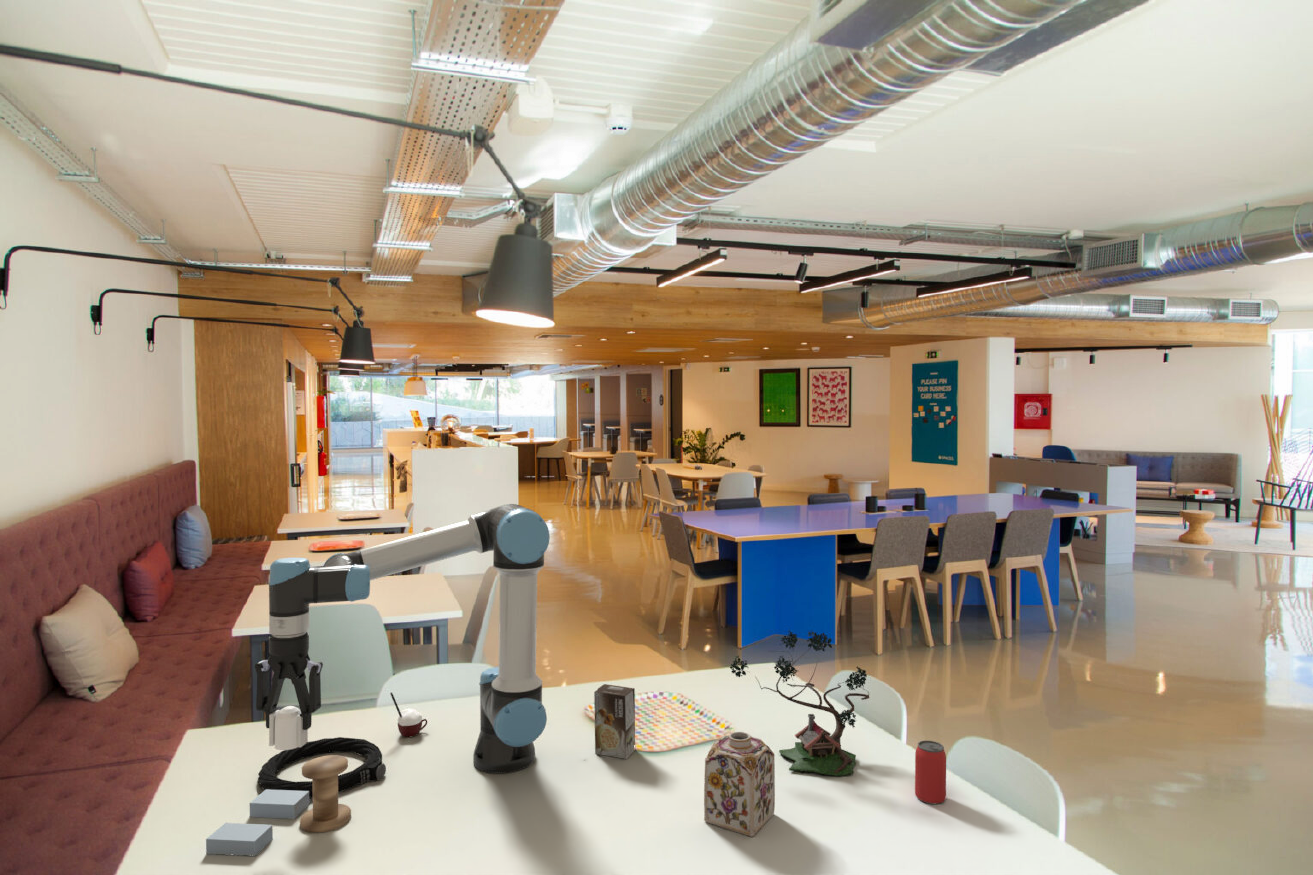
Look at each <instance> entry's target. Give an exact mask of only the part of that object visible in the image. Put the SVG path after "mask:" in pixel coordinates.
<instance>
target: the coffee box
mask: <svg viewBox="0 0 1313 875" xmlns="http://www.w3.org/2000/svg"><path fill="white" fill-rule="evenodd" d="M635 694H636V691H635V688H634V687H629V686H627V687H626V686H621V685H613V684H607V683H606V684H605V683H604V684H602V685H601V686H599V687H598V688H597V690H595V691H594V694H593V695H594V696H593V697H594V702H593V703H594V750H595V751H594V754H598V755H602V756H608V757H613V758H614V757H615V758H619V759H628V758H629V757H630V756H631V755H632V754H633V753H634V752H635V751H634V745H635V746H636V714H635V713H636V711H635V710H636V705H635V704H636V703H635V700H636V696H635Z"/></svg>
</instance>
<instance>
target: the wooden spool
mask: <svg viewBox="0 0 1313 875" xmlns="http://www.w3.org/2000/svg"><path fill="white" fill-rule="evenodd" d="M348 767H349V760H348V758H347V757H346V756H343V755H338V754H330V755H322V756H318V757H315V758H312V759H310V760H308V761H307V762H306V763H304V764H303V765H302V767H301V775H302V777H304V778H306V779H309V780H311V781H312V785H313V797H312V808H311V809H309V810H307V811H306V812H304V813H303V814H302V815H301V817H300V818H299V827H300V829H301V830H302V831H304V832H306V833H310V834H311V833H312V834H319V833H320V834H322V833H326V832H331V831H334V830H337V829H339V828H341V827H342V826H345V825H346V824H348V822H350V820H351V818H352V810H351V807H349V805H347V804H343V803H339V792H338V776H339V775H341V774H342V773H344V772H345V771H347V769H348Z"/></svg>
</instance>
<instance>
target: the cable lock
mask: <svg viewBox="0 0 1313 875" xmlns="http://www.w3.org/2000/svg"><path fill="white" fill-rule="evenodd" d="M338 752H339V753H353V754H357V755H359V754H360V756H363V757H366V759H367V760H365V762H363V763H362V764H361V765H359V766H358V767H356V768H355V769H353V770H351V771H348V772H345V773H343V774H342V773H341V774H338V793H340V792H343V791H346V790H349V789H351V788H353V787H355V786H357V785H363V784H366V783H369V781H370V782H376V781H377V780H378V781H380V780H382V779H384V777H385V775H386V771H387V770H386V764H385V763H383V753H382V751H381V749H380V748H379V747H378V746H377V745H376V744H375V743H372V742H370V741H368V740H366V739H365V738H364V739H363V738H354V737H341V736H340V737H339V736H337V737H331V738H330V737H329V738H327V737H326V738H321V739H317V740H313V741H308V742H307V743H306V744H304V745H303V746H302V747H297V748H294V749H290V750H280V752H279V753H276V754H275V755H272V757H270V758H269V759H268V760H267V761H266V762H265V763H264V764H263V765H262V766H261V769H260V770H259V772H258V774H257V775H258V777H257V782H258V783H259V786H260V788H261V789H263V791H265V790H266V789H269V790H293V791H309V798H313V785H312V780H311V781H303V780H302V781H292V780H286V779H281V778H279V777H277V775H276V774H277V773H278V771H280V770H282V769H283V768H284V767H286V766H287V765H290V764H292V763H294V762H297V761H298V760H300V759H304V758H308V756H309V757H312V756H316V755H321V754H330V753H338Z"/></svg>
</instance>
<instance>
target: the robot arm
mask: <svg viewBox="0 0 1313 875" xmlns="http://www.w3.org/2000/svg"><path fill="white" fill-rule="evenodd" d="M550 537H551V536H550V530H549V527H548V525H547V523H546V521H545V519H543V517H541V515H540V514H539V513H537V512H536V511H534V510H533V509H530V508H526V507H524V506H523V505H519V504H516V503H509V504H502V505H499V506H497V507H494V508H490V509H487V510H484V511H481V512H477V513H474V514H470V515H469V516H468V518H467V520H465V521H462V522H457V523H454V524H449V525H446V526H442V527H439V528H436V529H431V530H428V531H425V532H421V533H417V534H413V535H410V536H406V537H403V538H399V539H396V540H391V541H387V542H384V543H380V544H377V545H374V546H370V547H367V548H362V549H359V550H356V551H352V552H347V553H346V552H339V553H338V552H337V553H334V554H333V555H331V556H329V557H328V558H327V560H326V561H325V562H324V564H323V566H321V567H320V566H311V563H310V561H309V559H308V558H305V557H283V558H279V559H276V560H274V561H273V562H271V563H270V567H269V580H268V581H269V582H268V608H269V609H268V610H269V612H268V614H269V616H268V619H269V622H268V625H269V626H268V627H269V629H268V630H269V632H268V633H269V634H270V636H269V637H268V654H269V657H268V659H262V660H261V661H259V662H256V663H255V664H254V669H255V672H256V674H257V675H256V697H255V698H256V702H255V705H256V706H255V708H256V710H257V711H263V712H264V713H265V727H266V729H269V731H268V732H269V733H268V735H269V738H268V740H269V742H268V746H270V747H273V746H275V718H276V715H277V713H278V712H279V711H280V710H281V709H278V708H279V706H278V704H279V700H280V698H281V693H282V689H283V685H284V683H285V682H284V681H285V680H286V679H288V680H290V681H291V684H292V685H293V687H294V691H295V695H296V698H297V703H298V705H299V706H298V708H299V710H300V711H301V714H299V715H298V716H297V747H302V746H303V745H304V744H306V743H307V742H309V740H308V737H309V736H308V734H309V733H308V732H309V729H310V728H312V723H313V722H312V714H314V713H315V712H317V711H318V710H319V709H321V708H322V693H321V692H322V691H321V690H322V689H321V687H322V686H321V685H322V684H321V674H322V673H321V672H322V669H323V667H324V666H323V665H324V664H323V662H321V661H319V662H315V661H313V660H311V658H310V655H309V649H310V633H309V632H308V631H309V630H310V604H324V603H326V604H327V603H337V602H339V603H340V602H341V603H342V602H350V603H352V602H356V601H361V600H366V599H368V598H369V596H370V593H371V581H375V580H378V579H381V578H384V577H389V576H390V575H395V574H398V573H403V572H406V571H409V570H412V569H416V568H420V567H423V566H426V565H430V564H433V563H436V562H441V561H444V560H447V559H450V558H454V557H458V556H460V555H465V554H468V553H472V552H477V553H479V554H484V553H487V552H492V551H493V554H492V555H493V565H492V566H493V568H494V569H495V570H496V571H497V572H498V573H499V606H498V608H499V611H498V612H499V614H498V615H499V616H498V617H499V618H498V620H499V621H498V623H499V624H498V625H499V626H498V627H499V628H498V630H499V631H498V666H495V667H490V668H488V669H485V670H483V671H481V673H480V678H479V679H480V681H479V692H480V694H479V697H480V698H479V700H480V701H479V702H480V703H479V709H480V712H479V713H480V715H479V716H480V723H479V724H480V725H479V726H480V728H479V729H480V731H479V735H478V738H477V741H476V744H475V748H474V751H473V755H472V756H473V757H472V758H473V760H472V761H473V766H474V767H475V768H476V770H477V769H478V770H480V771H482V772H484V773H491V774H506V773H512V772H513V773H514V772H517V771H520V770H523V769H525V768H527V767H529V766H530V765H531V764H532V763H533V762H534V761H535V760H536V759H535V758H536V748H535V745H534V742H535V741H536V740H537V739H538V738H539V737H540V736H542V734H543V732H544V731H545V729H546V725H547V720H548V719H547V712H546V708H545V706H544V704H543V680H542V678H541V677H539V676H538V675H537V625H538V624H537V619H538V618H537V616H538V615H537V614H538V574H539V572H540V571H541V570H542V569H543V568H544V567H545V553H546V551H547V549H548V548H549V544H550ZM307 668H308V671H307V673H309V675H308V685H307V680H306V678H307V676H306V672H305V671H306V669H307ZM270 669H271V670H272V672H273V675H272V679H271V685H270Z"/></svg>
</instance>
